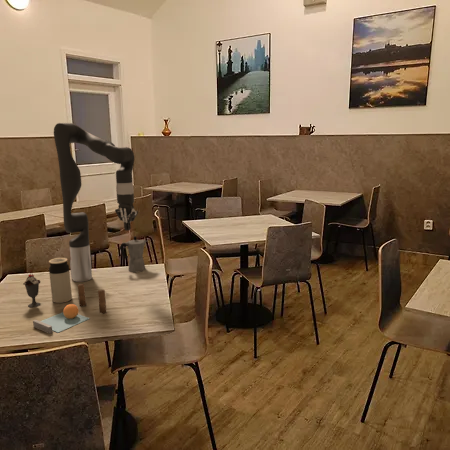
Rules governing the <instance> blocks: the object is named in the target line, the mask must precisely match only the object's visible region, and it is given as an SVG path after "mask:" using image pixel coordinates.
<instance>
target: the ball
mask: <svg viewBox="0 0 450 450" xmlns="http://www.w3.org/2000/svg"><path fill="white" fill-rule="evenodd" d="M62 312H63V314H64V316H65V317H66V318H69V319H72V318H75V317H76V316H77V315H78V314H79V312H80V311H79V308H78V306H77V305H76V304H73V303H70V304H67V305H66V306H65V307H64V308H63V311H62Z"/></svg>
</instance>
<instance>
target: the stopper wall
mask: <svg viewBox="0 0 450 450" xmlns="http://www.w3.org/2000/svg"><path fill="white" fill-rule="evenodd" d="M40 321H41V320H37V319H34V320H32V324H33V325H32V327H33V328H35V329H37V330H40V331H42V332H45V333H46V334H49V335H50V334H52V333H53V331H52V326H50V325H48V324H45V323H43V322H40Z"/></svg>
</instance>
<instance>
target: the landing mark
mask: <svg viewBox="0 0 450 450" xmlns="http://www.w3.org/2000/svg"><path fill="white" fill-rule="evenodd" d="M90 319H91V318H90V317H88V316H84V315H82V314H79V313H78V315H77V316H76V317H75V318H72V319H69V318H66V317H65V316H64V314H63V311H62V312H60V313H57V314H55V315H53V316H50V317H48V318H45V319H42V320H39V321H40V322H43V323H45V324H48V325H50V326H52V332H55V333H57V334H58V333H60V332H63V331H65V330H68V329H69V328H73V327H75V326H77V325H79V324H81V323H83V322H86V321H88V320H90Z"/></svg>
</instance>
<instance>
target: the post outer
mask: <svg viewBox="0 0 450 450" xmlns="http://www.w3.org/2000/svg"><path fill="white" fill-rule="evenodd" d="M97 295H98V307H99V308H98V309H99V310H98V311H99V314H105V313H107V305H106V301H107V300H106V291H105V289H98V291H97Z"/></svg>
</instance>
